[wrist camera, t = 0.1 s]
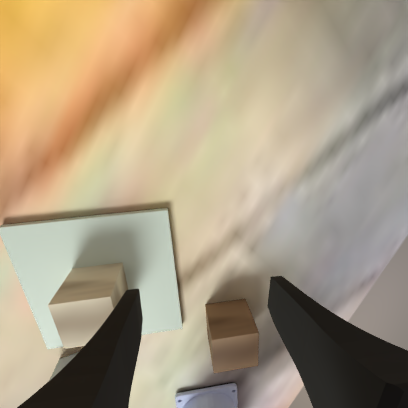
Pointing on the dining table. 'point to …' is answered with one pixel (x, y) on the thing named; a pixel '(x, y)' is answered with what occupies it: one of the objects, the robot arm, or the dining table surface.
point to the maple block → (86, 301)
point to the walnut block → (232, 335)
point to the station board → (97, 262)
